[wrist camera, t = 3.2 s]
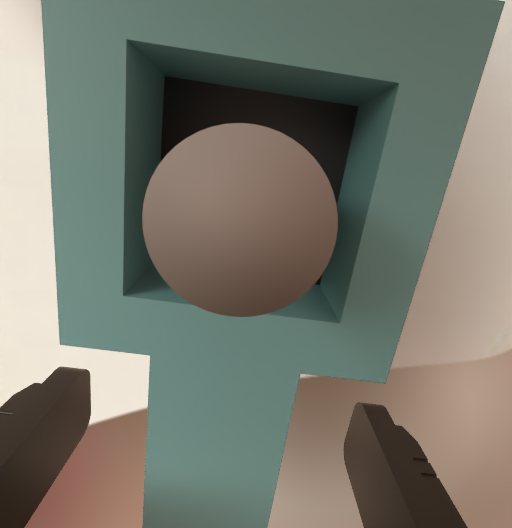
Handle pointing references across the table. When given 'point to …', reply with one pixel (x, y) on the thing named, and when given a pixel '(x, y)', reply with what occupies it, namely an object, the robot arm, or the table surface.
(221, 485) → the teal square frame paddle
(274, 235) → the stand
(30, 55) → the table surface
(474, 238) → the table surface
